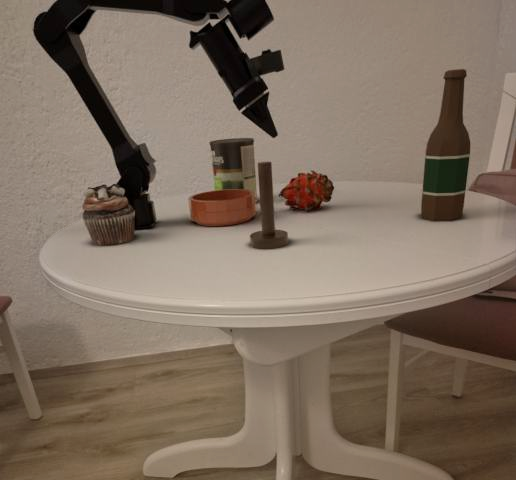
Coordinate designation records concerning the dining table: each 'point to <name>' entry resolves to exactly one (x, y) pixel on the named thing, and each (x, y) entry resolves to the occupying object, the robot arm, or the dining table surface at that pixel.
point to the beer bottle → (447, 155)
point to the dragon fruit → (307, 191)
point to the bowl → (222, 207)
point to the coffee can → (234, 164)
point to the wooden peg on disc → (267, 213)
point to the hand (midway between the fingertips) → (274, 135)
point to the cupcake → (108, 215)
